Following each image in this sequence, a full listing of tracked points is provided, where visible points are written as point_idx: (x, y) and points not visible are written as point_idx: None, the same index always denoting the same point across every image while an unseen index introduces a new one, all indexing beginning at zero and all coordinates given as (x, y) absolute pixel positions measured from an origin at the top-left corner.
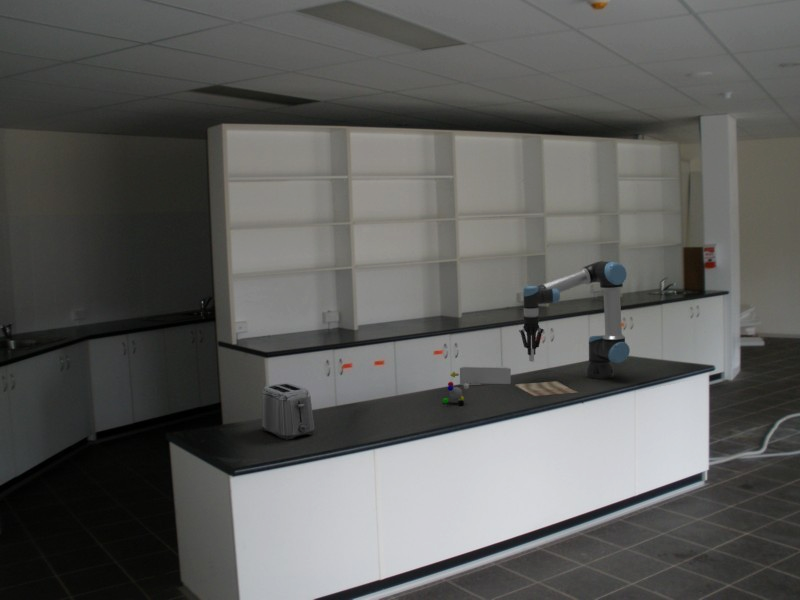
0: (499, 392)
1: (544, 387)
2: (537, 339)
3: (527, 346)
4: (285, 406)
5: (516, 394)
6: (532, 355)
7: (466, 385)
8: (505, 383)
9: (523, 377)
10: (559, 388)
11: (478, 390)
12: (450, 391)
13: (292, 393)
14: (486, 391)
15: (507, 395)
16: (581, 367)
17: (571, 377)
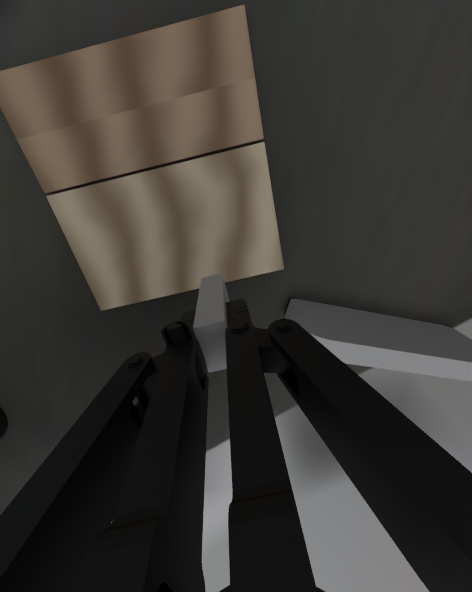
0: (366, 190)
1: (165, 213)
2: (107, 459)
3: (277, 331)
4: None
5: (308, 135)
6: (212, 294)
7: None
8: (309, 305)
9: (215, 412)
10: (94, 191)
11: (430, 239)
12: None
13: None
14: (409, 217)
15: (355, 116)
16: None
17: (55, 406)
